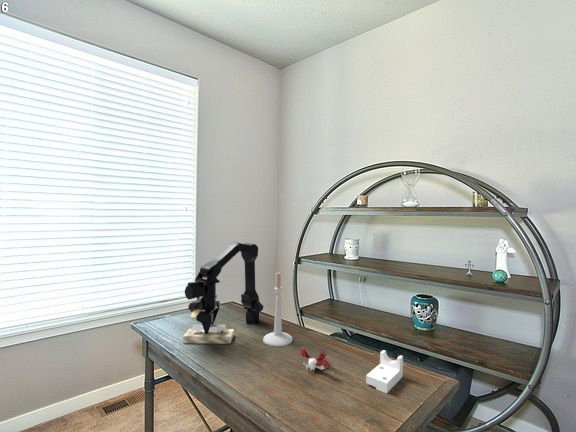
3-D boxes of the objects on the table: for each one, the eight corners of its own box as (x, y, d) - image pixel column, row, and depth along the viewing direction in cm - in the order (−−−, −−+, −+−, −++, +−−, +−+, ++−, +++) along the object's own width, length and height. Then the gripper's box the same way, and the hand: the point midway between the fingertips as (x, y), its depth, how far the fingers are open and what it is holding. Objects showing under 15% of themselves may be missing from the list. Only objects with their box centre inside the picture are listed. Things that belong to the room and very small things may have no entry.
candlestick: (259, 344, 135) (259, 274, 134) (268, 332, 148) (268, 268, 147) (288, 348, 132) (289, 275, 131) (295, 335, 145) (295, 269, 144)
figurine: (343, 371, 115) (344, 352, 114) (321, 383, 107) (322, 363, 106) (312, 356, 126) (313, 339, 125) (291, 366, 118) (291, 348, 117)
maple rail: (233, 335, 144) (233, 329, 144) (230, 343, 136) (230, 336, 136) (189, 335, 144) (189, 328, 144) (183, 343, 136) (183, 336, 136)
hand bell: (209, 315, 171) (209, 285, 170) (197, 319, 164) (197, 288, 163) (198, 312, 175) (198, 283, 174) (186, 316, 168) (186, 286, 167)
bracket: (383, 370, 116) (383, 349, 115) (402, 377, 111) (402, 356, 111) (366, 385, 106) (366, 363, 105) (386, 394, 101) (387, 370, 101)
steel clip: (225, 338, 141) (225, 324, 141) (224, 340, 139) (224, 326, 139) (193, 338, 141) (193, 324, 141) (192, 340, 139) (192, 326, 139)
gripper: (196, 288, 149) (196, 321, 149) (183, 300, 130) (183, 338, 131) (220, 288, 149) (220, 321, 149) (210, 300, 130) (210, 338, 131)
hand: (209, 329), depth 140 cm, fingers open, 9 cm apart
